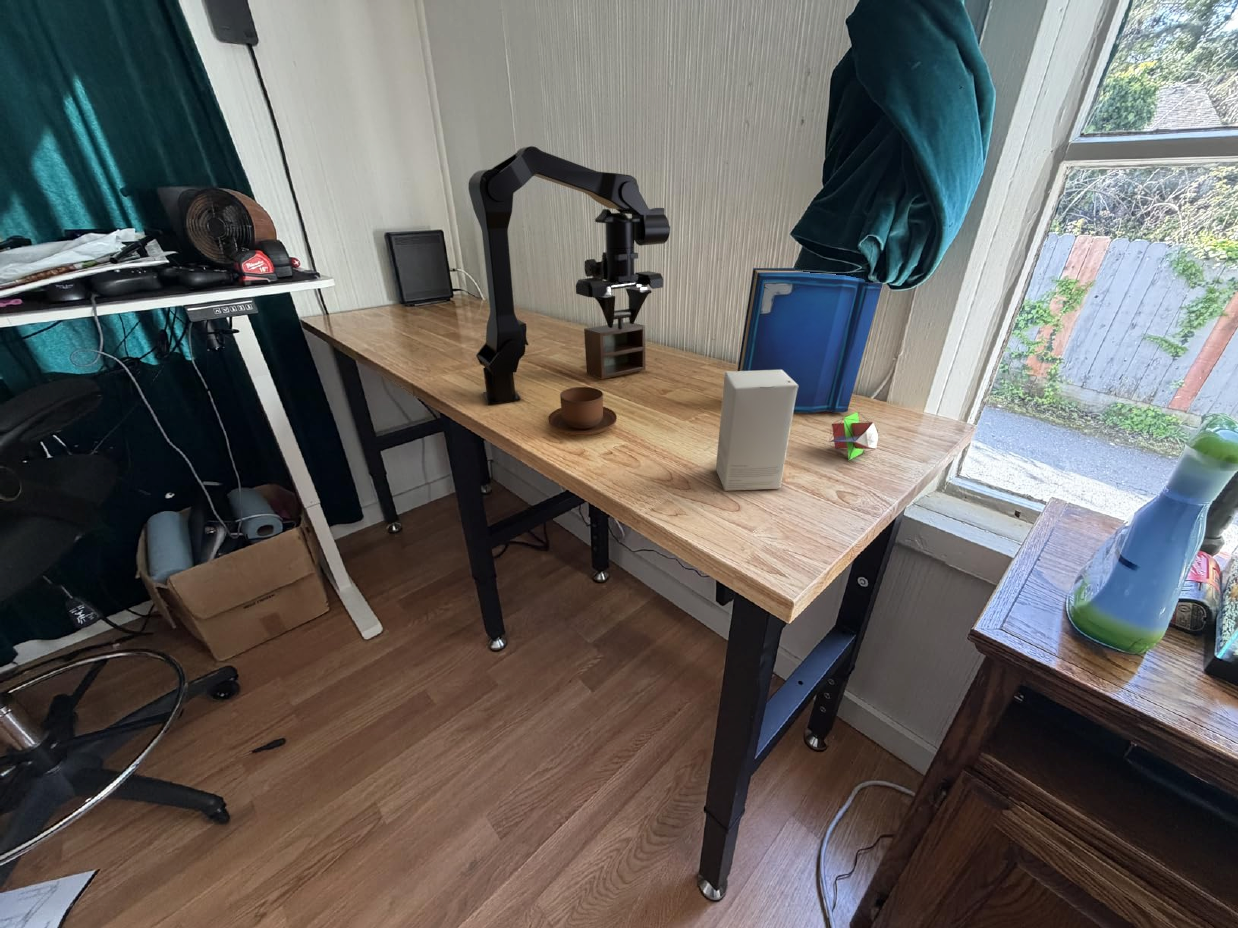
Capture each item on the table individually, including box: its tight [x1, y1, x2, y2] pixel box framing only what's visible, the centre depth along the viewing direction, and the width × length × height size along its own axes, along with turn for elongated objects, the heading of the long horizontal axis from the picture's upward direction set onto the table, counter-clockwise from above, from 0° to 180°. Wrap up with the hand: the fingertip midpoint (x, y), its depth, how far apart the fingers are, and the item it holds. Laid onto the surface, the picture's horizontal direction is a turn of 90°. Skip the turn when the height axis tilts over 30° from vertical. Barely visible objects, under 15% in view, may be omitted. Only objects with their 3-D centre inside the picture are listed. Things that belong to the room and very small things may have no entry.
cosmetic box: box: [715, 370, 799, 492], centre depth 68 cm, size 8×7×16 cm
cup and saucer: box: [547, 386, 618, 437], centre depth 86 cm, size 12×12×6 cm
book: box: [737, 267, 884, 415], centre depth 89 cm, size 22×7×25 cm, turn 84°
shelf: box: [583, 308, 646, 380], centre depth 110 cm, size 14×12×6 cm
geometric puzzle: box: [828, 410, 880, 461], centre depth 77 cm, size 7×7×8 cm
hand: (621, 325), depth 107 cm, fingers closed on shelf, 5 cm apart
